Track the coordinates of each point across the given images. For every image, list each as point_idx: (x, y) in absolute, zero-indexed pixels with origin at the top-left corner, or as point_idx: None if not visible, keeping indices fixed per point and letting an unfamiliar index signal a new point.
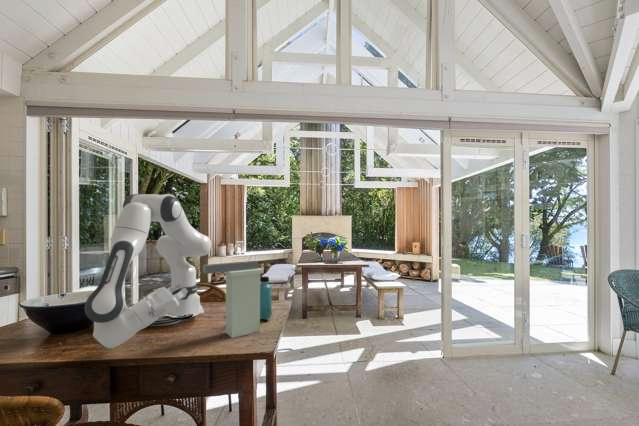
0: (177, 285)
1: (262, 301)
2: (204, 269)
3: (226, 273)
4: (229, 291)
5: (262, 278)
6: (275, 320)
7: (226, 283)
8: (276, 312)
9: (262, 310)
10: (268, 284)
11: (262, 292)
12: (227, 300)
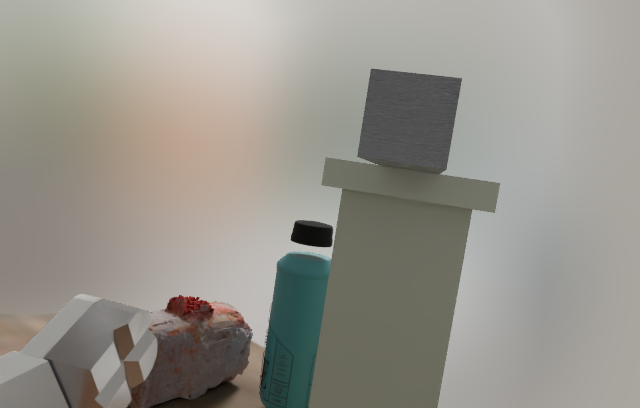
0: (114, 346)
1: (315, 336)
2: (422, 119)
3: (397, 188)
4: (392, 320)
5: (321, 229)
6: None
7: (338, 262)
8: (253, 361)
9: (310, 377)
10: (324, 256)
11: (321, 294)
12: (342, 382)
